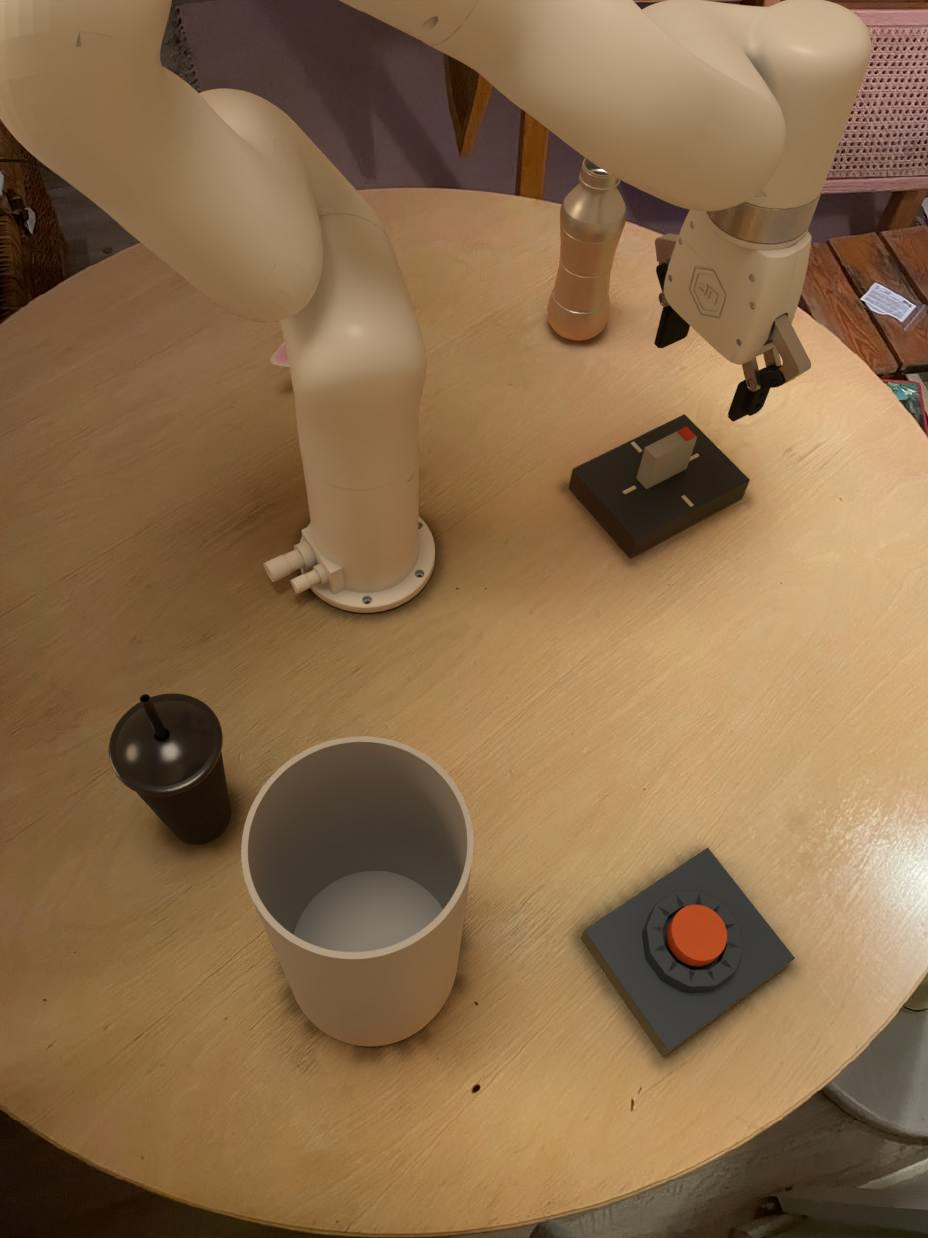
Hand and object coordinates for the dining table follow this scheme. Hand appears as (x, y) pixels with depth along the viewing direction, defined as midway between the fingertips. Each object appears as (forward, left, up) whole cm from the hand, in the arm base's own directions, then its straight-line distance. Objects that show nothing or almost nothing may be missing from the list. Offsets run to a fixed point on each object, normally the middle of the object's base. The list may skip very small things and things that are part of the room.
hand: (706, 376), depth 87 cm
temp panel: (0, +1, -17) cm, 17 cm away
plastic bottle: (+7, +24, -17) cm, 31 cm away
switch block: (-26, -35, -17) cm, 47 cm away
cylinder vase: (-46, -23, -17) cm, 54 cm away
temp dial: (0, +1, -14) cm, 14 cm away
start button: (-26, -35, -13) cm, 45 cm away
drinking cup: (-52, -6, -17) cm, 55 cm away
